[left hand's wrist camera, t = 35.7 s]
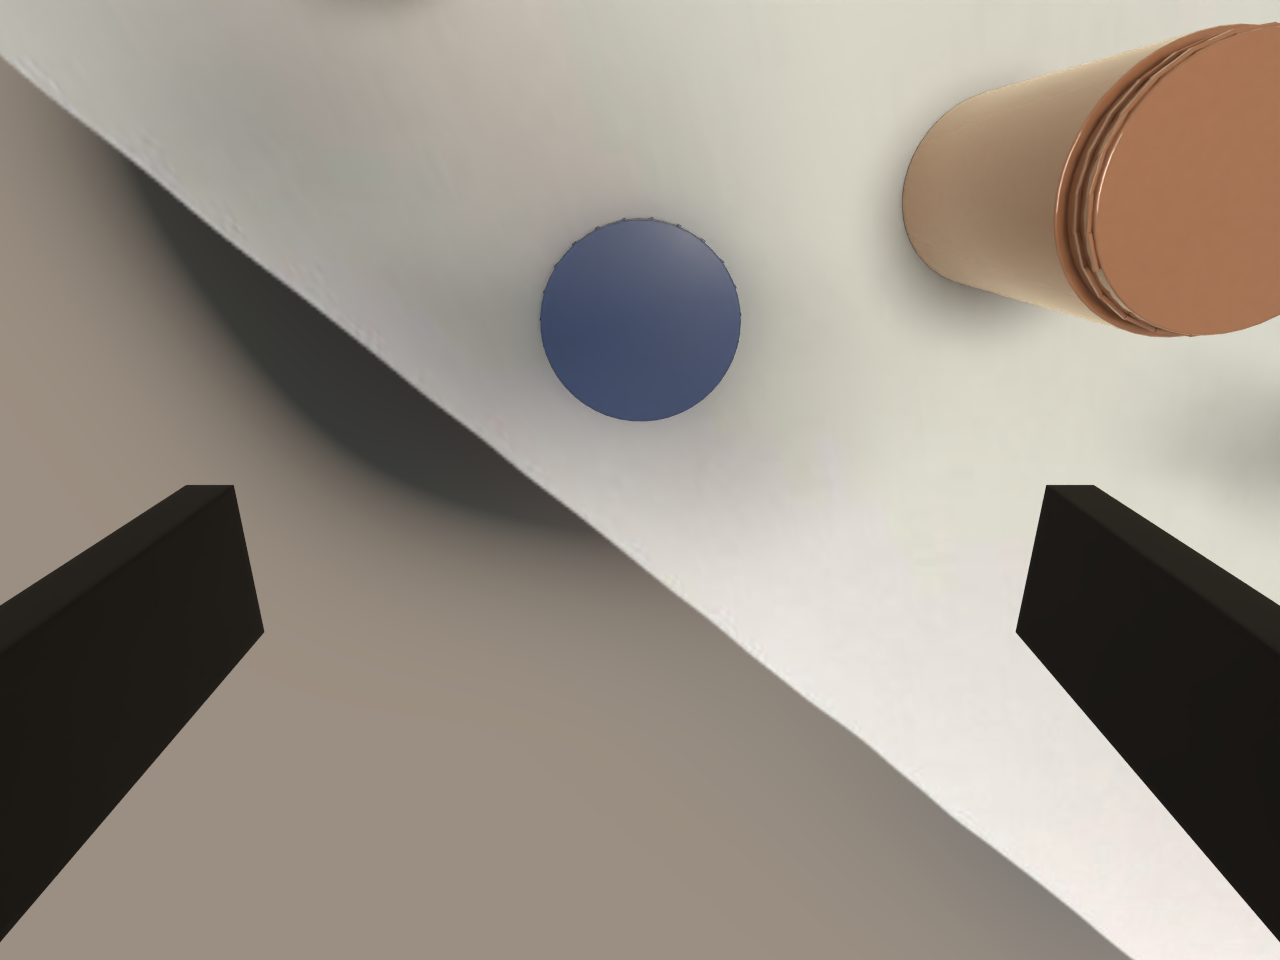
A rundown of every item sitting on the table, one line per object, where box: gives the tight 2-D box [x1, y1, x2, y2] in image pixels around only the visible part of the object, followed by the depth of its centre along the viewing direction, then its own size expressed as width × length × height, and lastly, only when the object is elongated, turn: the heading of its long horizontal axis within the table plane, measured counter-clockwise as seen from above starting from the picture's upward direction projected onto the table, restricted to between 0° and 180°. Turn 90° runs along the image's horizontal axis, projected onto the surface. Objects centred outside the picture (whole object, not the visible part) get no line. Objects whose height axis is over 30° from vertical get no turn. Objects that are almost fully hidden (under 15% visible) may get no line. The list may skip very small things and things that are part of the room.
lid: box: [540, 217, 741, 421], centre depth 36 cm, size 10×10×2 cm
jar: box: [903, 22, 1280, 337], centre depth 28 cm, size 9×9×15 cm
